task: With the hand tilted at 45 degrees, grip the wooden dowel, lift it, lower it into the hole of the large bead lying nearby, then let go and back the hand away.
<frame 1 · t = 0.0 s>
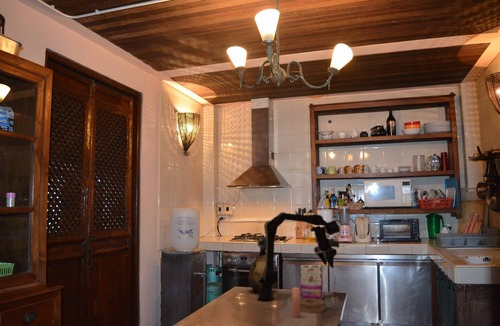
hand: (329, 266, 209), 15 cm above the kitchen island, tool pointing down, fingers open, 9 cm apart
candy bar box: (312, 297, 205), on the kitchen island
ceramic jug: (262, 292, 219), on the kitchen island
dowel: (296, 316, 171), on the kitchen island
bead: (310, 309, 183), on the kitchen island
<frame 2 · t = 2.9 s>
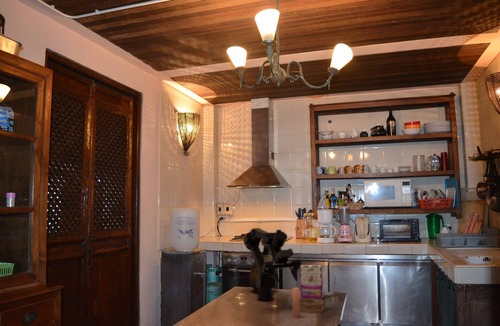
hand: (287, 281, 179), 14 cm above the kitchen island, tool tilted 45°, fingers open, 9 cm apart
ceramic jug: (262, 291, 219), on the kitchen island, touching arm
everything else where it was.
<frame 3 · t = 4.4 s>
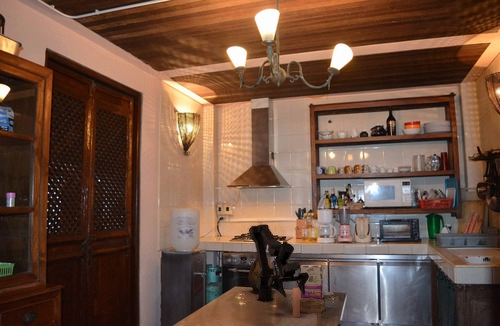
hand: (295, 295, 173), 9 cm above the kitchen island, tool tilted 45°, fingers open, 9 cm apart
ceramic jug: (262, 292, 219), on the kitchen island
everything else where it was.
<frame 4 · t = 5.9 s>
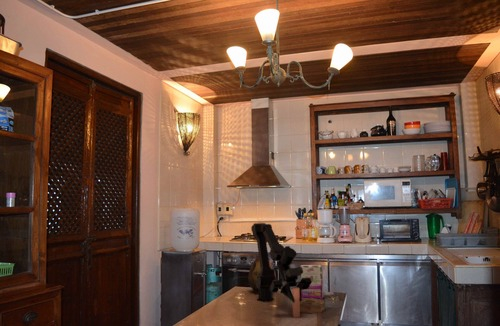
hand: (297, 301, 170), 7 cm above the kitchen island, tool tilted 45°, fingers closed on dowel, 3 cm apart
dowel: (296, 316, 171), on the kitchen island, touching gripper
everything else where it was.
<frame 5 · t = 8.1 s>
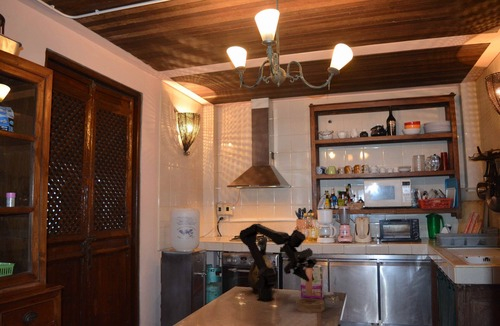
hand: (311, 280, 181), 13 cm above the kitchen island, tool tilted 45°, fingers closed on dowel, 3 cm apart
dowel: (309, 294, 182), point 7 cm above the kitchen island, touching gripper
everything else where it was.
when the fingers open (9 cm above the kitchen island, at t = 10.2 s): dowel drops 2 cm, resting in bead.
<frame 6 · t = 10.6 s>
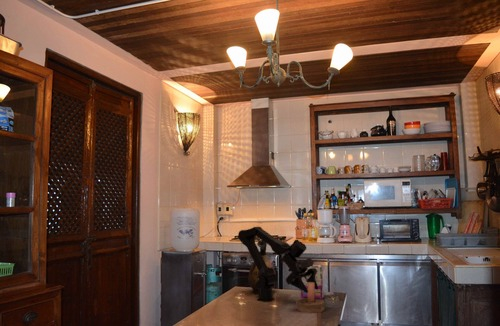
hand: (312, 290, 182), 9 cm above the kitchen island, tool tilted 45°, fingers open, 8 cm apart
dowel: (310, 309, 183), resting in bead
everything else where it was.
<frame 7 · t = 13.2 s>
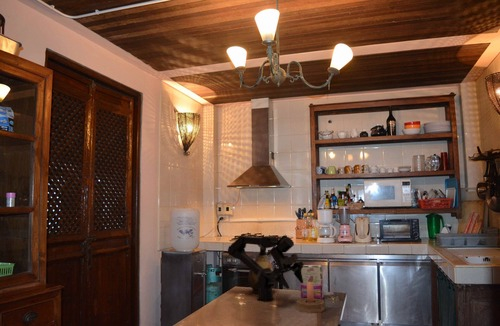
hand: (295, 285, 189), 9 cm above the kitchen island, tool tilted 40°, fingers open, 9 cm apart
nothing on the kitchen island moved.
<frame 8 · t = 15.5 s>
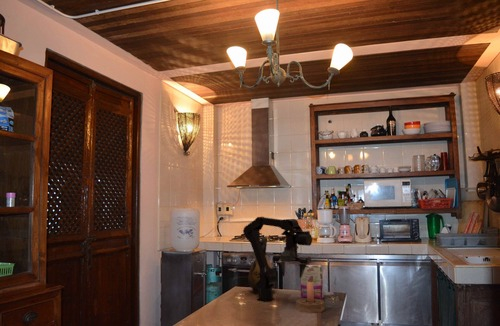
hand: (292, 277, 193), 13 cm above the kitchen island, tool pointing down, fingers open, 9 cm apart
nothing on the kitchen island moved.
at the end: dowel 0.0 cm off-centre on the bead, point 0.0 cm above the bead's base; dowel tilted 0°; the gripper is holding nothing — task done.
